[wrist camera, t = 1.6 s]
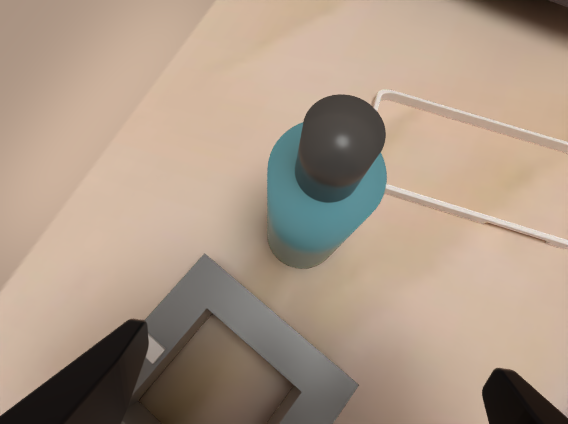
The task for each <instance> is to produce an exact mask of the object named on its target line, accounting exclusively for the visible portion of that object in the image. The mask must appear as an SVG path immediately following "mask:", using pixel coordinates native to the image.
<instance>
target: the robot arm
mask: <svg viewBox="0 0 568 424" xmlns="http://www.w3.org/2000/svg"><path fill="white" fill-rule="evenodd" d="M148 347H149V338H148V326H147V322H146V321H144V320H138V319H130V320H128V321H126V322H125V323H123V324H122V325H121V326H119V327H118V328H117V329H116V330H114V331H113V332H112V333H110V334H109V335H108V336H106V337H105V338H104V339H102V340H101V341H100V342H98V343H97V344H96V345H94V346H93V347H92V348H90V349H89V350H88V351H86V352H85V353H84V354H82V355H81V356H80V357H78V358H77V359H76V360H74V361H73V362H72V363H70V364H69V365H68V366H66V367H65V368H64V369H62V370H61V371H60V372H58V373H57V374H56V375H54V376H53V377H52V378H50V379H49V380H48V381H46V382H45V383H44V384H42V385H41V386H40V387H38V388H37V389H36V390H34V391H33V392H32V393H30V394H29V395H28V396H26V397H25V398H24V399H22V400H21V401H20V402H18V403H17V404H16V405H14V406H13V407H12V408H10V409H9V410H8V411H6V412H5V413H4V414H2V415H1V416H0V424H121V422H122V420H123V418H124V416H125V413H126V411H127V408H128V405H129V403H130V400H131V397H132V394H133V391H134V389H135V386H136V383H137V380H138V377H139V374H140V371H141V369H142V366H143V363H144V360H145V357H146V354H147V351H148ZM482 396H483V401H484V405H485V409H486V413H487V417H488V421H489V424H568V418H567V417H566V416H565V415H564V414H562V413H561V412H560V411H559V410H558V409H557V408H556V407H555V406H553V405H552V404H551V403H550V402H549V401H548V400H547V399H546V398H544V397H543V396H542V395H541V394H540V393H539V392H538V391H537V390H535V389H534V388H533V387H532V386H531V385H530V384H529V383H528V382H526V381H525V380H524V379H523V378H522V377H521V376H520V375H519V374H517V373H516V372H515V371H513V370H510V369H503V368H496V369H494V370H493V372H492V373H491V375H490V377H489V378H488V380H487V382H486V383H485V385H484V387H483V390H482Z"/></svg>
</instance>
